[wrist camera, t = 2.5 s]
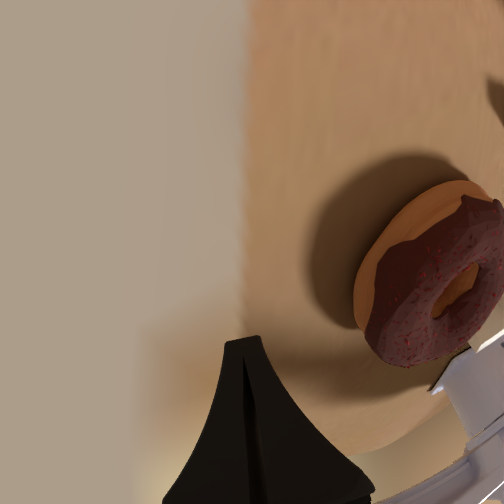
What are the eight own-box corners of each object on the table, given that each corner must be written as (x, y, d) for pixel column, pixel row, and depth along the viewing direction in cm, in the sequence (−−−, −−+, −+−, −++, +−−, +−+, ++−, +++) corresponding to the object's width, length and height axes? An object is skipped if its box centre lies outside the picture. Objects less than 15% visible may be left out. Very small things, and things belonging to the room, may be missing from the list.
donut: (377, 152, 9) (449, 193, 6) (500, 188, 11) (547, 222, 7) (320, 338, 14) (343, 399, 11) (440, 318, 16) (467, 358, 13)
